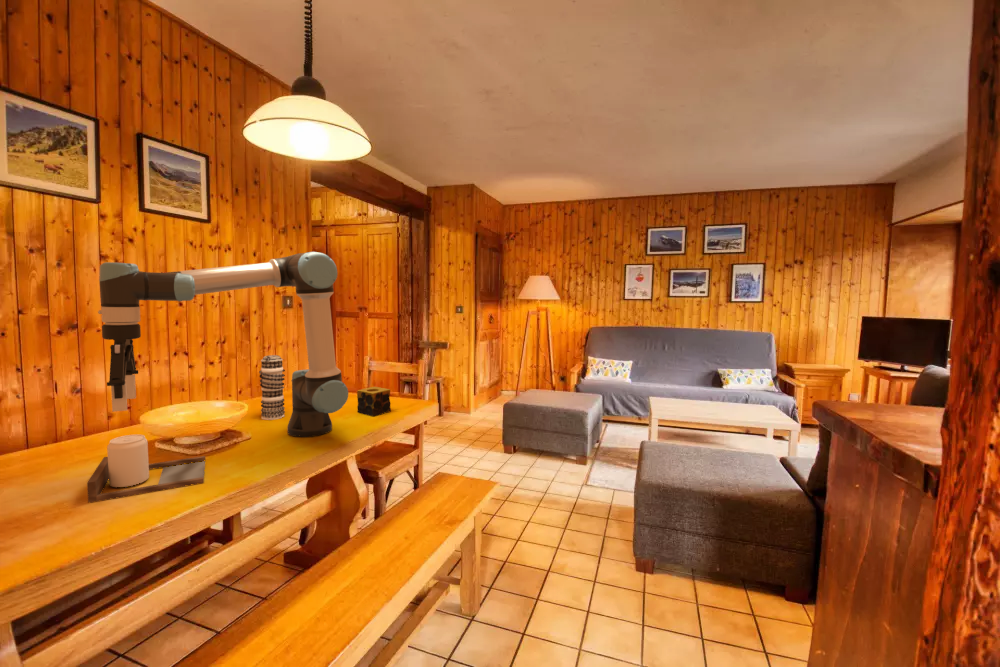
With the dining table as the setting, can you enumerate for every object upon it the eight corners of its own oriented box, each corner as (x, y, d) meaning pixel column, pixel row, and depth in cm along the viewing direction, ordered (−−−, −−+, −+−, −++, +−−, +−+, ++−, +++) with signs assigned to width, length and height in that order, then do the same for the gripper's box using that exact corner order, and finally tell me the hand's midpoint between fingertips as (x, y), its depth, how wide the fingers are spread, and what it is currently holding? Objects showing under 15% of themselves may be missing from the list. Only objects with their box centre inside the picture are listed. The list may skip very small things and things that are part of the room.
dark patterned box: (391, 411, 191) (391, 389, 190) (373, 417, 183) (373, 393, 182) (374, 407, 197) (375, 386, 196) (356, 412, 188) (356, 390, 187)
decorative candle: (268, 413, 183) (267, 354, 181) (290, 414, 183) (289, 354, 180) (255, 419, 174) (253, 357, 172) (278, 420, 174) (276, 358, 171)
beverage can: (117, 478, 119) (115, 435, 118) (154, 474, 122) (152, 432, 121) (103, 491, 111) (100, 445, 110) (142, 487, 114) (139, 442, 113)
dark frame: (205, 459, 133) (204, 443, 133) (203, 482, 118) (202, 464, 117) (105, 474, 121) (104, 457, 120) (88, 502, 105) (87, 482, 105)
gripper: (112, 319, 121) (115, 395, 123) (89, 327, 100) (94, 418, 102) (146, 319, 125) (149, 392, 127) (132, 327, 104) (135, 414, 106)
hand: (124, 404), depth 114 cm, fingers open, 13 cm apart
